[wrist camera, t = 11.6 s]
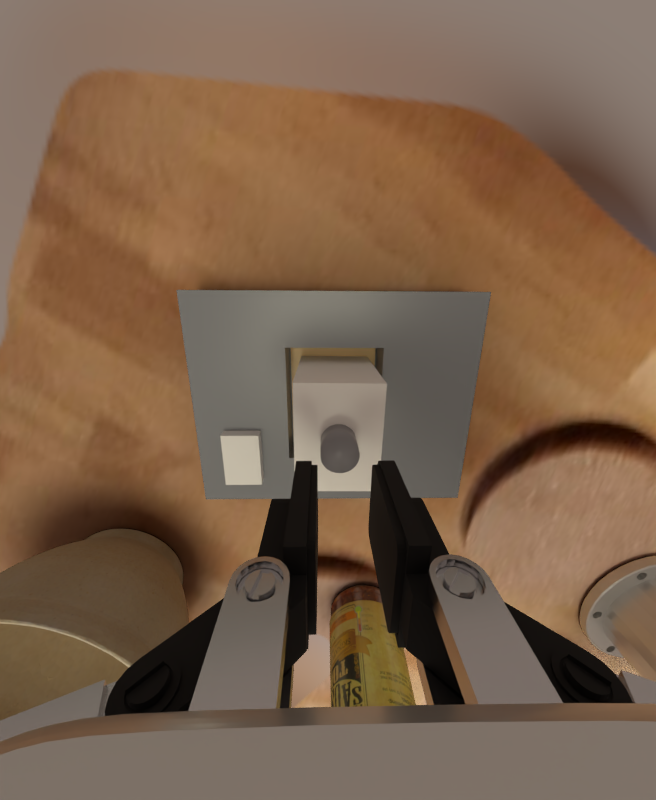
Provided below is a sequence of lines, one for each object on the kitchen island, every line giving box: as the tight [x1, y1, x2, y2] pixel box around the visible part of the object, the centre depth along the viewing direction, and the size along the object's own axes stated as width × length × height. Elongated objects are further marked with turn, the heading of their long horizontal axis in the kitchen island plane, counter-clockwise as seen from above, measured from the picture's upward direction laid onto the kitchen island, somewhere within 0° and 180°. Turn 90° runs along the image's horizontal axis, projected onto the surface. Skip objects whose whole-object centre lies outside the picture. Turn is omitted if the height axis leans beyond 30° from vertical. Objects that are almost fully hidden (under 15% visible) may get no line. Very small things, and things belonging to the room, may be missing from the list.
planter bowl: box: [0, 529, 189, 721], centre depth 23 cm, size 16×16×11 cm
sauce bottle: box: [330, 585, 416, 707], centre depth 21 cm, size 7×6×20 cm
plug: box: [293, 356, 387, 491], centre depth 18 cm, size 4×6×9 cm
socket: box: [177, 290, 491, 499], centre depth 21 cm, size 18×14×4 cm
